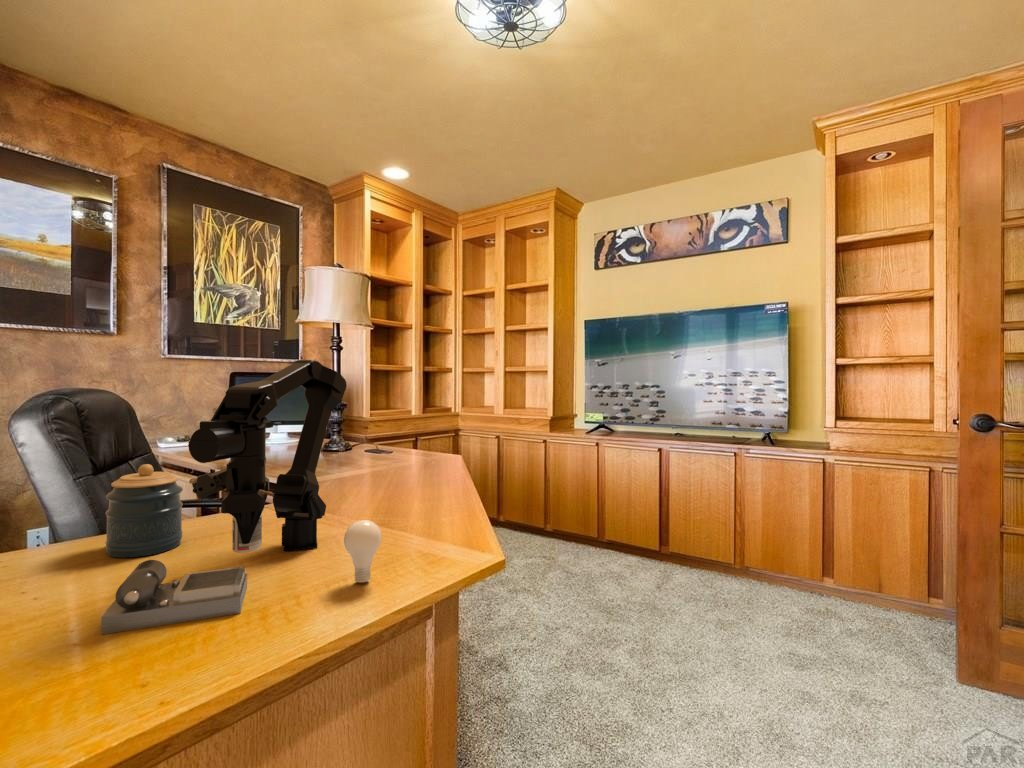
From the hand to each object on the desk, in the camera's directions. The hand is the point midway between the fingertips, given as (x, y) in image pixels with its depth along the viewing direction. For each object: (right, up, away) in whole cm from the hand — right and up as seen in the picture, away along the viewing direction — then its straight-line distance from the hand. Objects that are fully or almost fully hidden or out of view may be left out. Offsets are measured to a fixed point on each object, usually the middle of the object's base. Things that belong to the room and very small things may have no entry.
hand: (247, 539), depth 90 cm
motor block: (-3, -6, -14) cm, 16 cm away
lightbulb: (+22, -7, -3) cm, 23 cm away
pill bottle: (0, -2, 0) cm, 2 cm away
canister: (-28, -6, +13) cm, 32 cm away
